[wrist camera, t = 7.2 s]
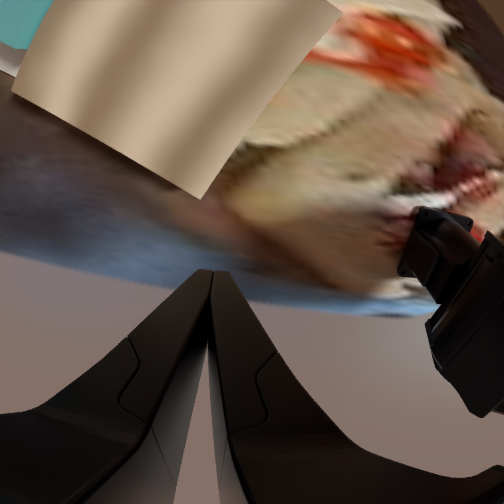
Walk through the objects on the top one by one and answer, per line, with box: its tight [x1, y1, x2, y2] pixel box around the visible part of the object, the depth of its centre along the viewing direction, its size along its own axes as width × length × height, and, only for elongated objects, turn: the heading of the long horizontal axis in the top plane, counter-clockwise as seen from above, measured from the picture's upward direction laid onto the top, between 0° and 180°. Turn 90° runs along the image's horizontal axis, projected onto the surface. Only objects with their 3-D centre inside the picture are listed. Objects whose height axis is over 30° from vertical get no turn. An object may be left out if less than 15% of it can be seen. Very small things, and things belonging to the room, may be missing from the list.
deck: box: [11, 0, 343, 200], centre depth 13 cm, size 16×14×3 cm
